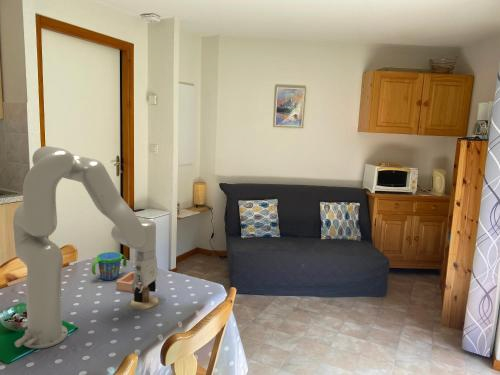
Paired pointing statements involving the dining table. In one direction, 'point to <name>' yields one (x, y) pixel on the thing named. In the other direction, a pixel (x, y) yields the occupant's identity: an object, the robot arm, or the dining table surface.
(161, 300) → the mat
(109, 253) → the snack cup
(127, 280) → the dish
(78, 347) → the dining table surface
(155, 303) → the lid
